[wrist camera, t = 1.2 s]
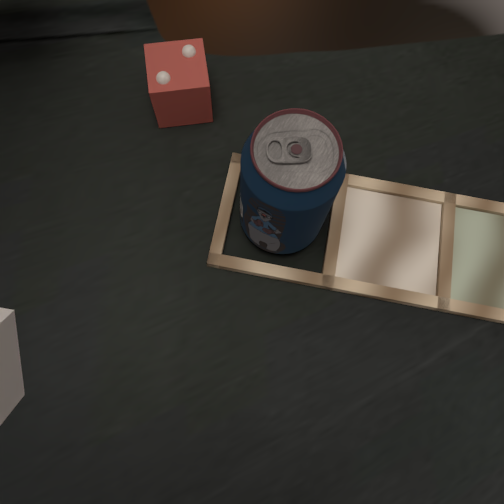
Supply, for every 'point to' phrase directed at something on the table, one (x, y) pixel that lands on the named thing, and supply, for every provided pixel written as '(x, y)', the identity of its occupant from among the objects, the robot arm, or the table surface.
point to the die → (178, 82)
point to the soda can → (289, 179)
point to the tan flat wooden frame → (396, 247)
